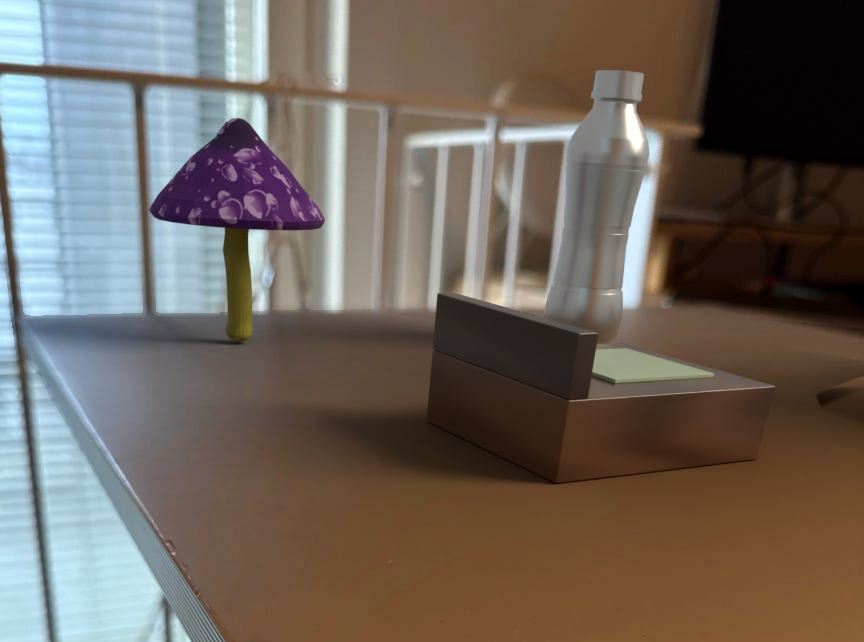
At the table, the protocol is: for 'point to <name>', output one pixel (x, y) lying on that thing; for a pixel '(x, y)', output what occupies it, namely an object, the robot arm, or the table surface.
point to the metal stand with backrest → (583, 397)
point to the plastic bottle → (600, 207)
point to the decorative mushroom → (237, 205)
